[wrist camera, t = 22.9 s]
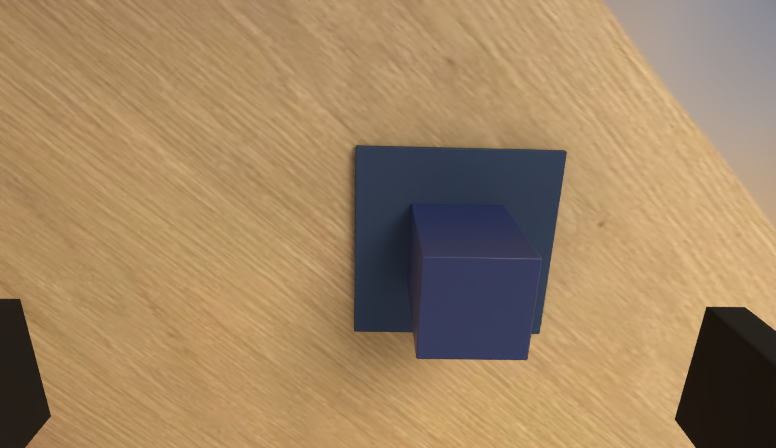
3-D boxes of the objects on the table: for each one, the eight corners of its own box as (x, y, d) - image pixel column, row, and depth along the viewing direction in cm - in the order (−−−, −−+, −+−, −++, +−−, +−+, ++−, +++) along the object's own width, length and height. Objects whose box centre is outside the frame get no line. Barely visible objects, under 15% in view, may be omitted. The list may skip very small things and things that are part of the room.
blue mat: (355, 145, 27) (355, 146, 27) (564, 150, 27) (567, 151, 27) (354, 328, 31) (354, 331, 31) (537, 330, 31) (539, 334, 31)
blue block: (411, 202, 28) (421, 256, 21) (503, 204, 28) (542, 258, 21) (407, 286, 30) (416, 359, 23) (494, 287, 30) (527, 360, 23)
